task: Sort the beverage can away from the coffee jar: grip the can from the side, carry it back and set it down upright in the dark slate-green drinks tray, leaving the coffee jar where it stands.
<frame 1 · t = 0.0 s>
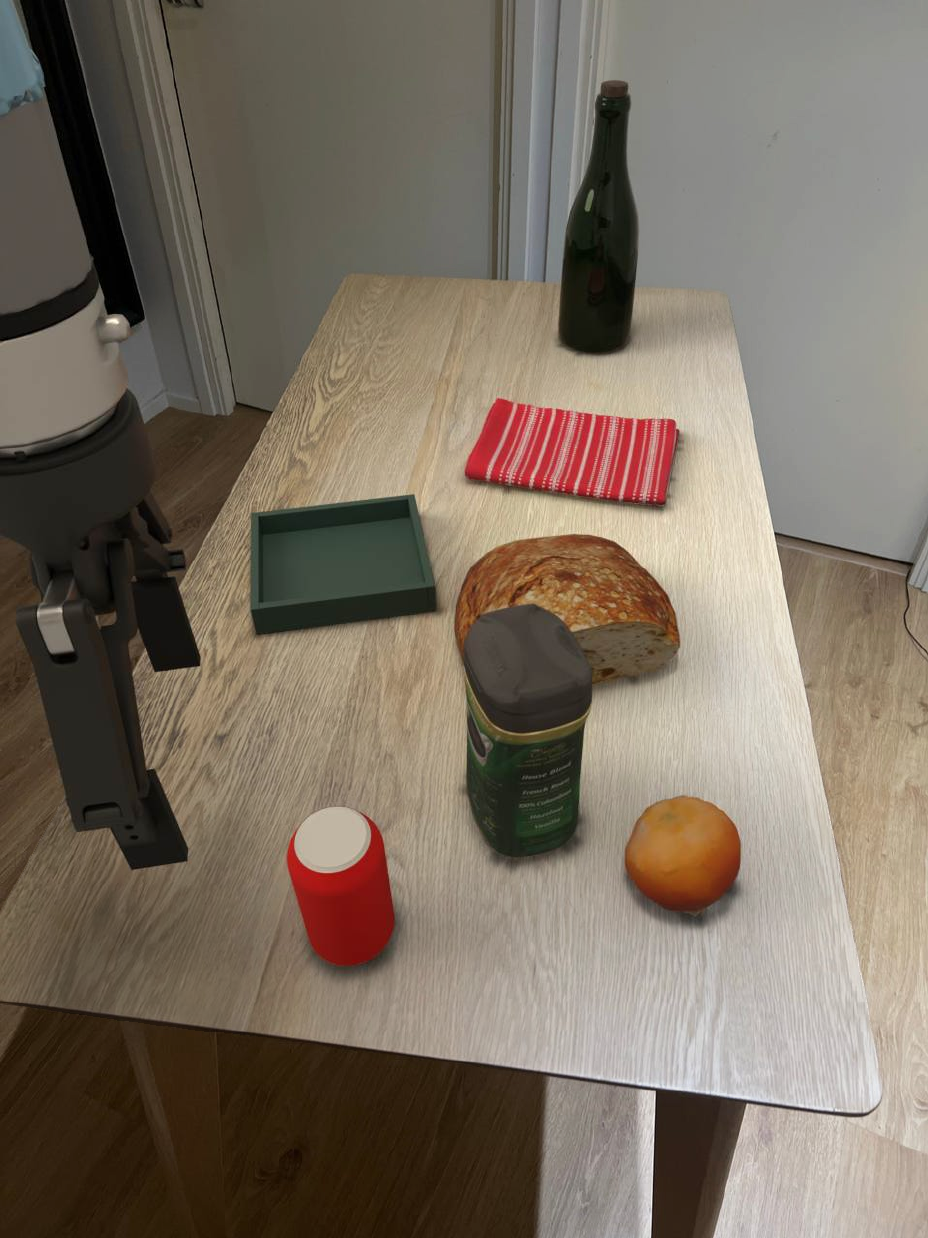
hand: (170, 752, 49), 21 cm above the table, tool pointing down, fingers open, 13 cm apart
fruit: (676, 878, 66), on the table
bread: (559, 633, 85), on the table
coffee jar: (521, 809, 71), on the table
dish towel: (573, 459, 107), on the table
beverage can: (353, 932, 63), on the table
drinks tray: (342, 572, 92), on the table
wine bottle: (593, 340, 130), on the table
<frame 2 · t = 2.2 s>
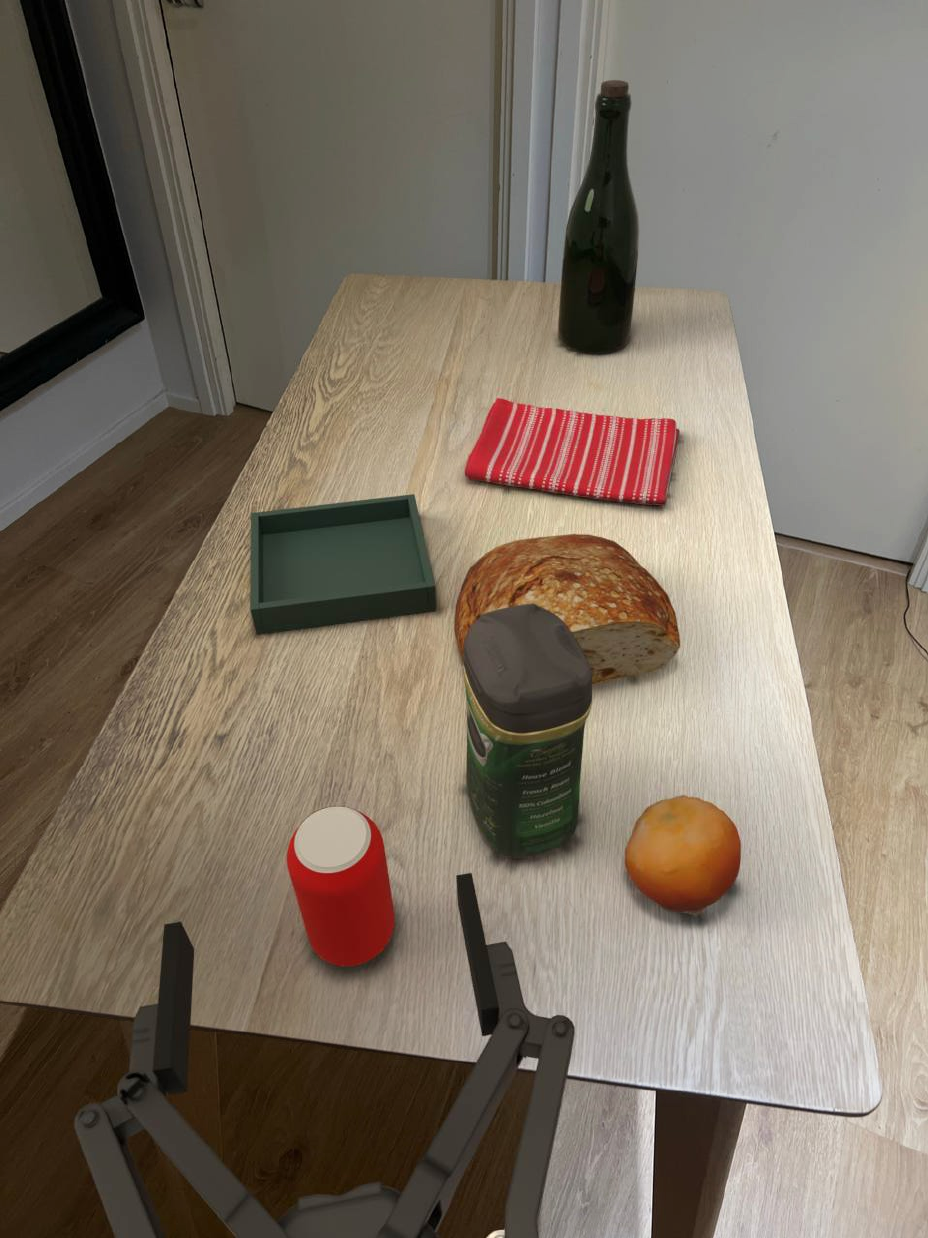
hand: (324, 911, 42), 20 cm above the table, tool horizontal, fingers open, 13 cm apart
nothing on the table moved.
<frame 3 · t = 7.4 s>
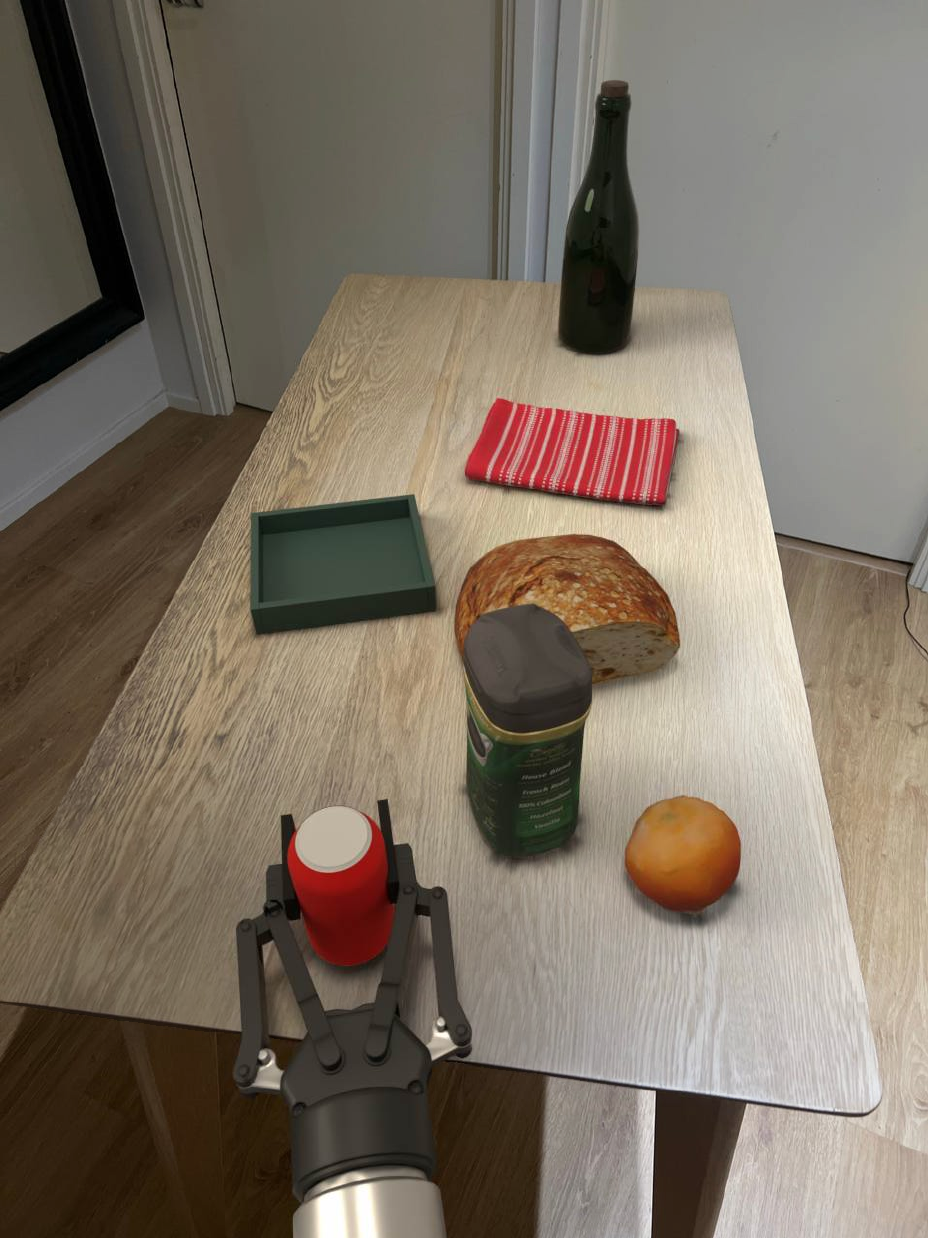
hand: (336, 818, 62), 7 cm above the table, tool horizontal, fingers closed on beverage can, 6 cm apart
beverage can: (353, 932, 63), on the table, touching gripper
everything else where it was.
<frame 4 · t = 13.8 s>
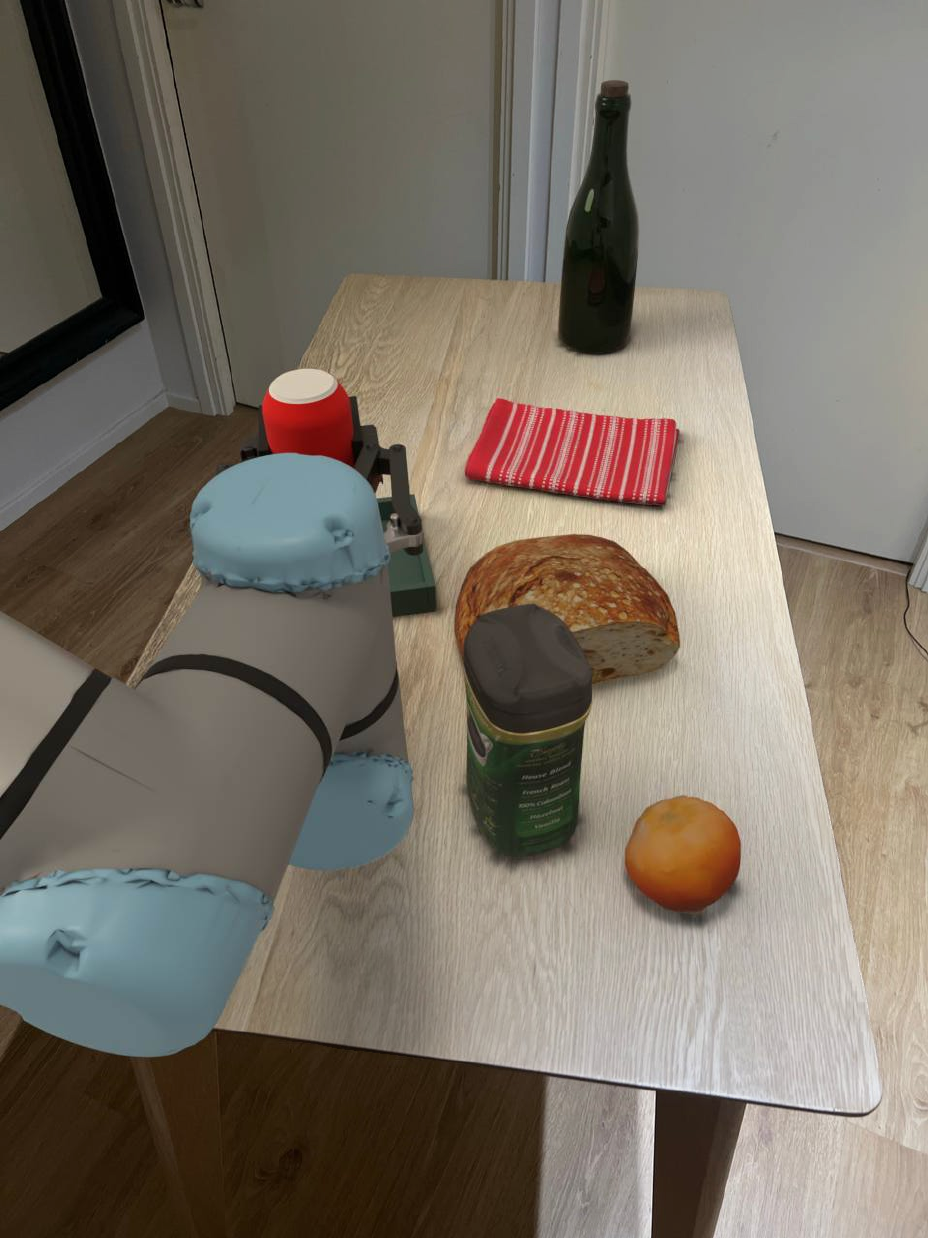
hand: (310, 416, 69), 24 cm above the table, tool horizontal, fingers closed on beverage can, 6 cm apart
beverage can: (324, 525, 70), point 17 cm above the table, touching gripper
everything else where it was.
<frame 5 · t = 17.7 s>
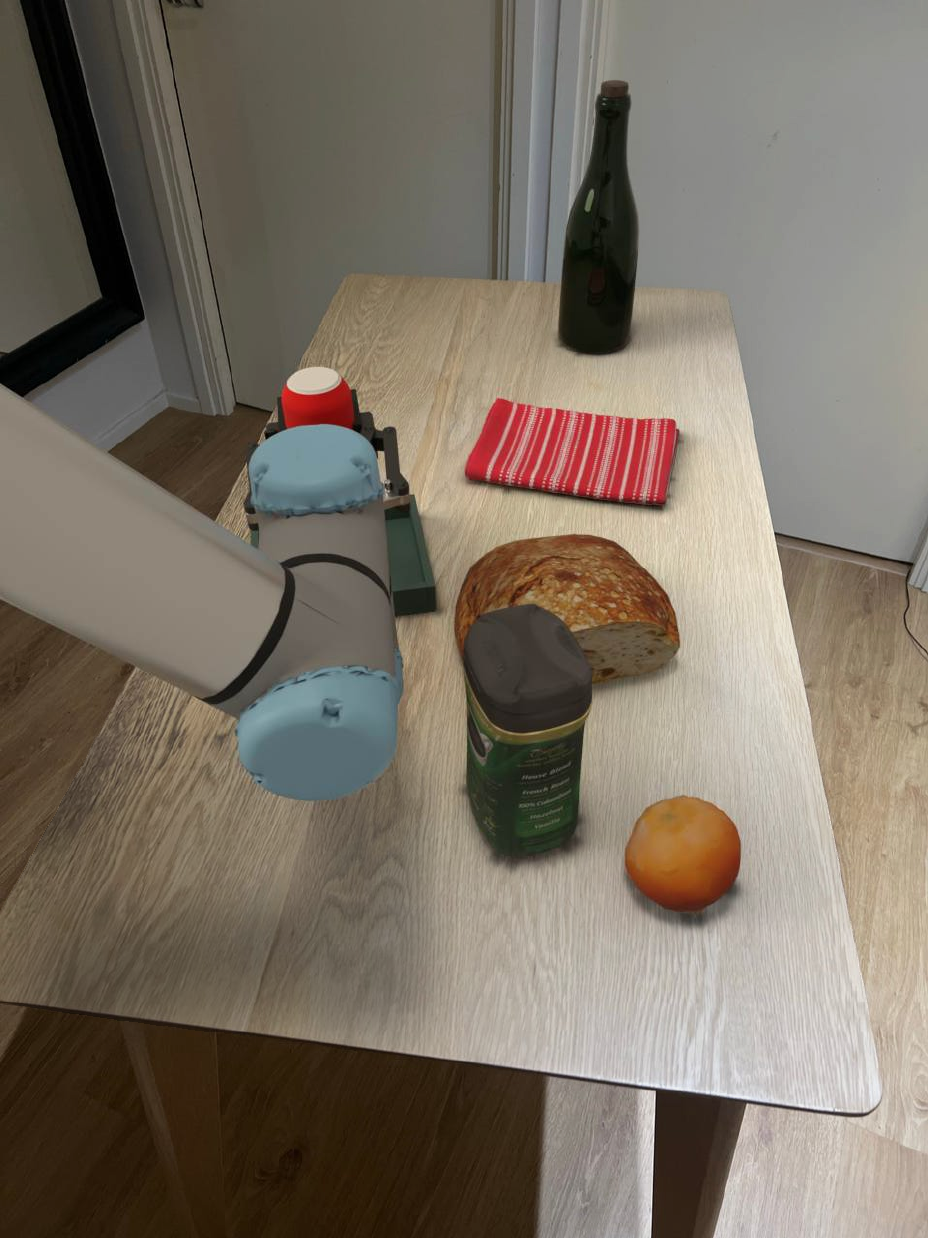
hand: (318, 405, 85), 16 cm above the table, tool horizontal, fingers closed on beverage can, 6 cm apart
beverage can: (331, 494, 85), point 10 cm above the table, touching gripper
everything else where it was.
when the fingers open (7 cm above the table, at t = 20.6 s): beverage can stays where it is, resting on drinks tray.
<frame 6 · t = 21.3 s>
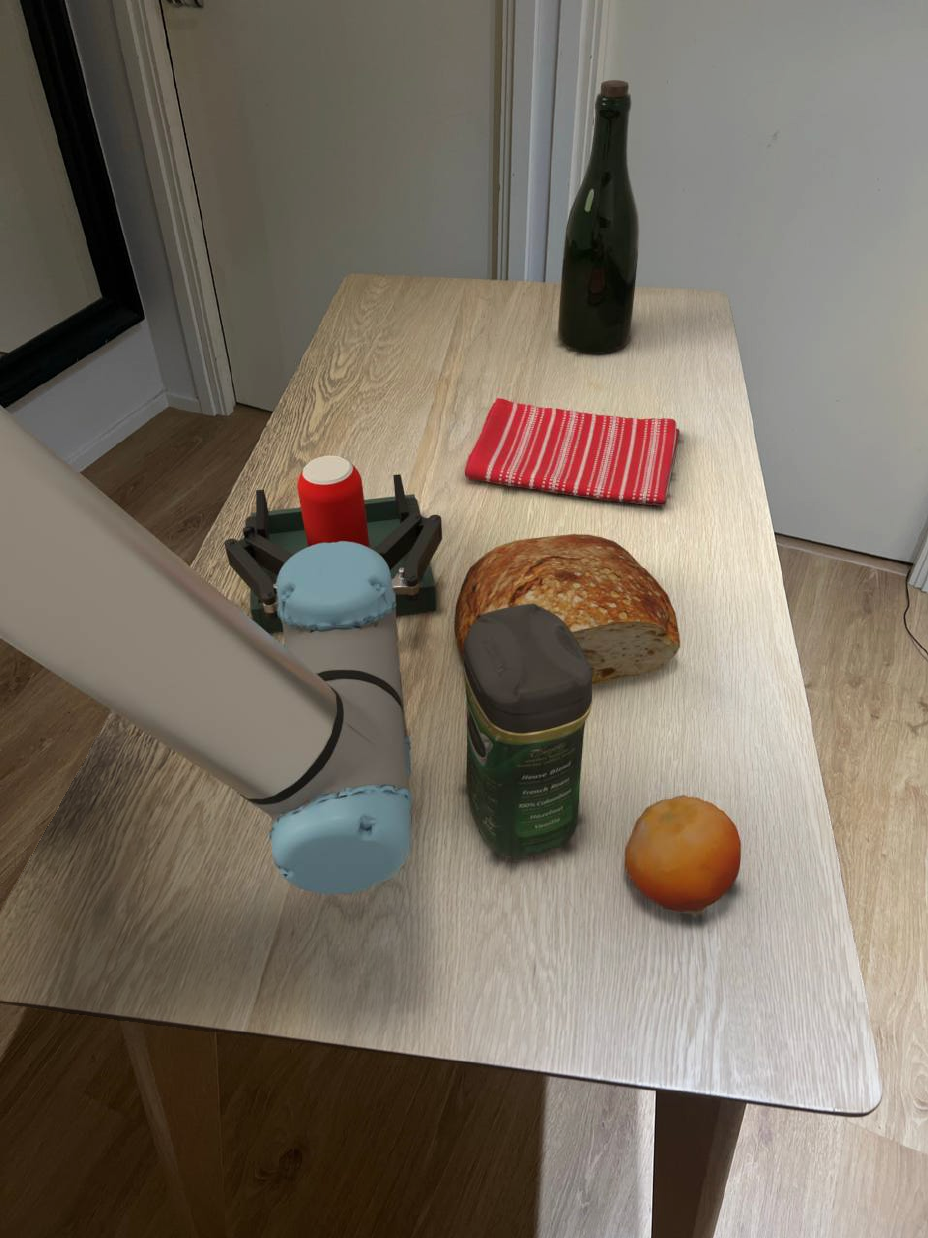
hand: (330, 492, 89), 8 cm above the table, tool horizontal, fingers open, 13 cm apart
beverage can: (342, 567, 92), point 1 cm above the table, touching drinks tray
everything else where it was.
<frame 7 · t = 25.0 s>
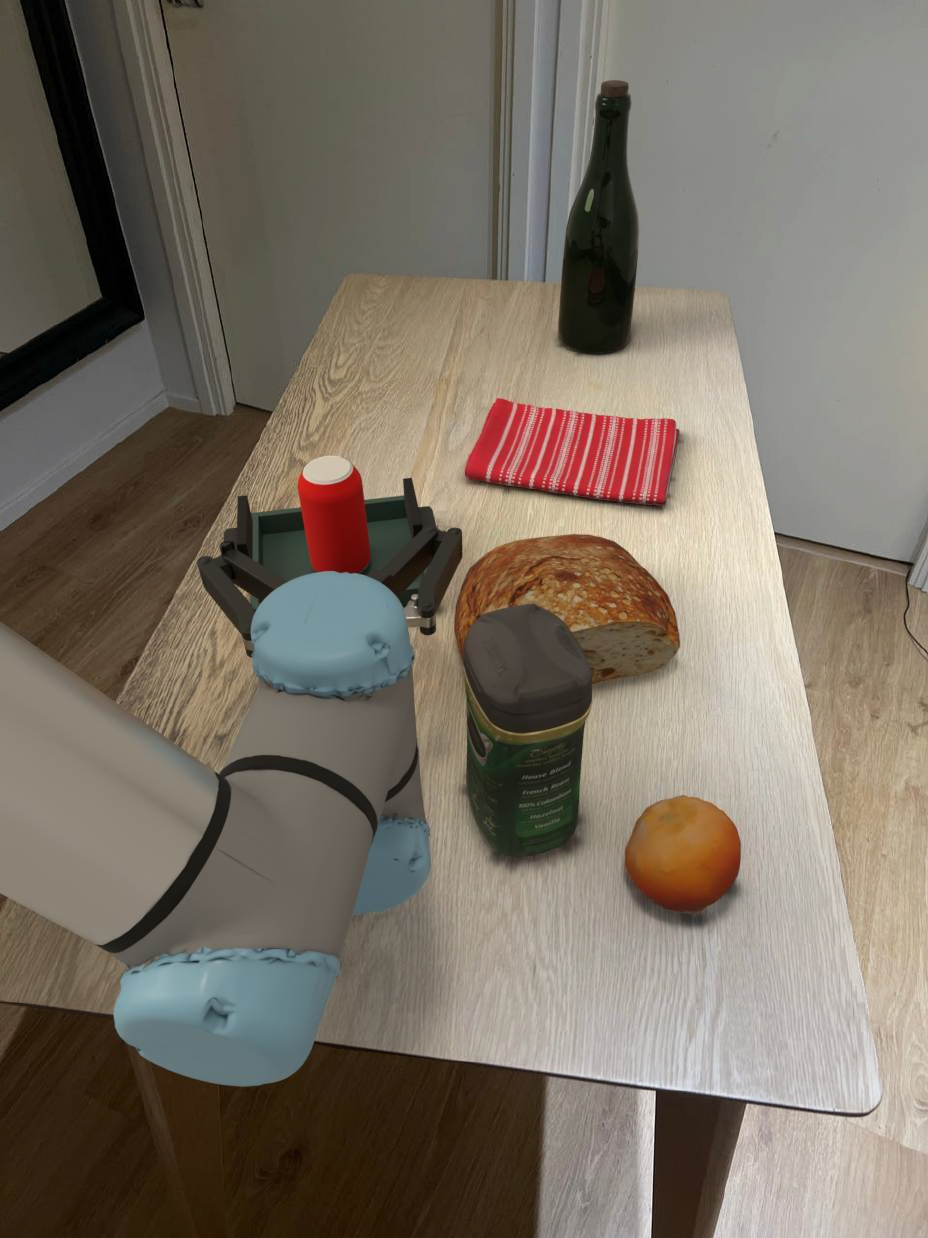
hand: (327, 499, 74), 16 cm above the table, tool horizontal, fingers open, 13 cm apart
nothing on the table moved.
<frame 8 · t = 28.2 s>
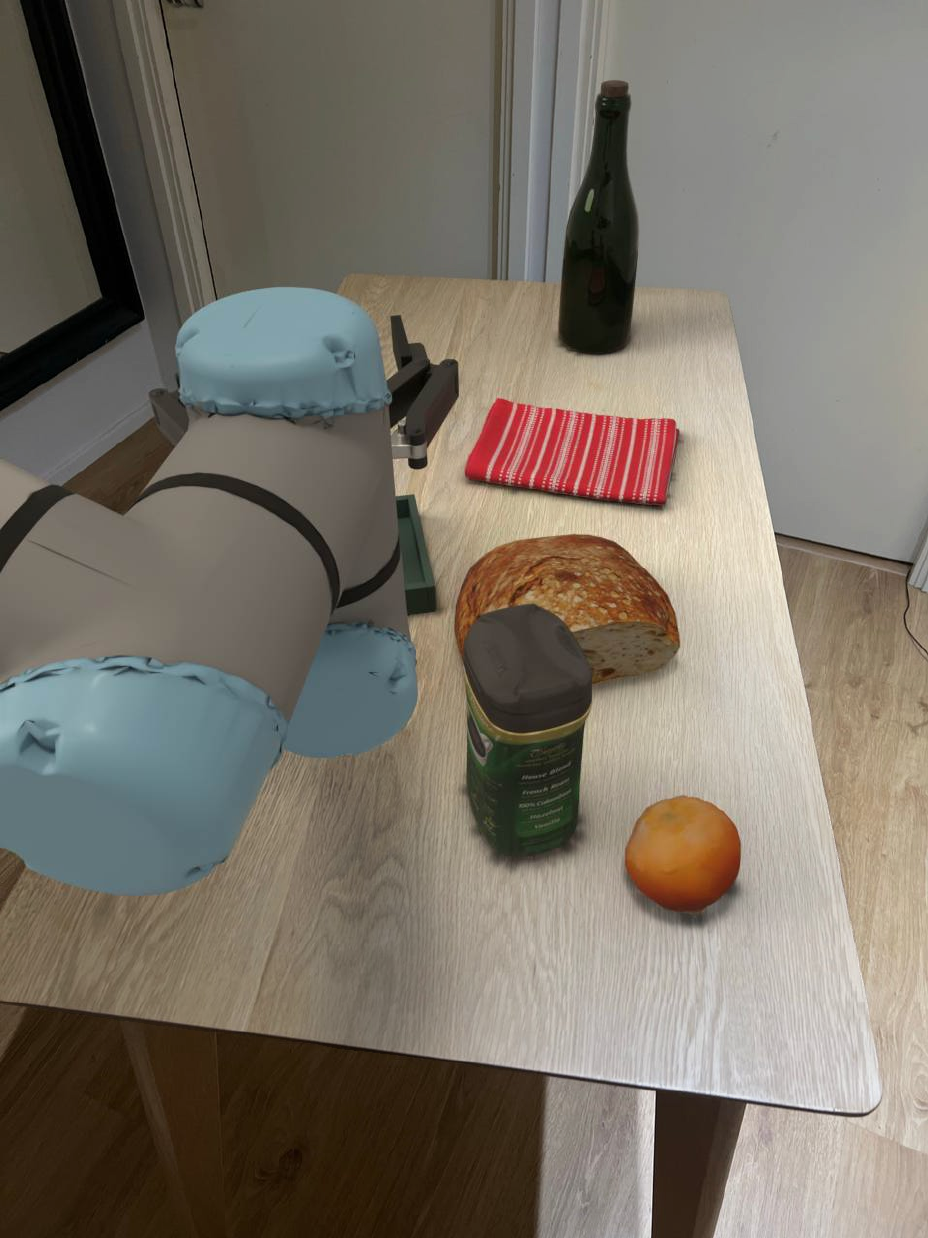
hand: (304, 341, 65), 30 cm above the table, tool horizontal, fingers open, 13 cm apart
nothing on the table moved.
at the end: beverage can inside the target area in the drinks tray (0.1 cm from its centre), point 0.6 cm above the drinks tray's base; beverage can tilted 0°; coffee jar moved 0.2 cm from its start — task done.
